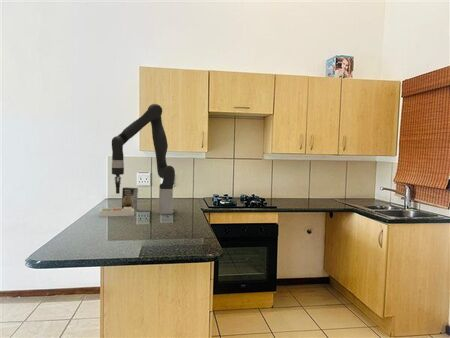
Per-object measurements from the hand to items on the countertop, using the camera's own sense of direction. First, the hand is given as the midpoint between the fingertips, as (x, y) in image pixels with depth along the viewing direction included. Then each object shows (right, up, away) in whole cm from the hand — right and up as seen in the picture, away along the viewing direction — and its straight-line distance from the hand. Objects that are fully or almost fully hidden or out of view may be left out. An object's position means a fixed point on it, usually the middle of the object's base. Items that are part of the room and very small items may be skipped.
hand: (117, 193), depth 207 cm
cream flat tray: (0, -14, 0) cm, 14 cm away
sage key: (-7, -12, -2) cm, 14 cm away
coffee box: (+2, -14, +20) cm, 24 cm away
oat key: (+6, -13, +2) cm, 14 cm away
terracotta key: (0, -13, 0) cm, 13 cm away
